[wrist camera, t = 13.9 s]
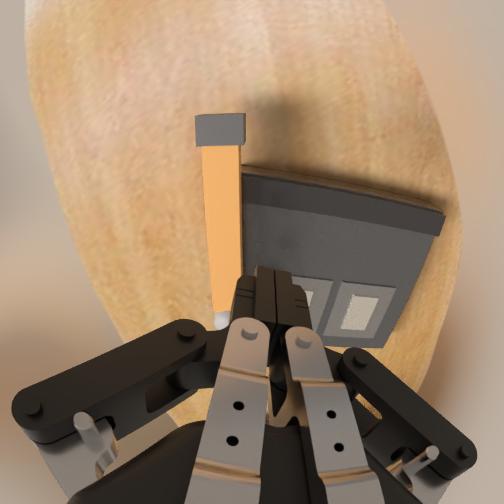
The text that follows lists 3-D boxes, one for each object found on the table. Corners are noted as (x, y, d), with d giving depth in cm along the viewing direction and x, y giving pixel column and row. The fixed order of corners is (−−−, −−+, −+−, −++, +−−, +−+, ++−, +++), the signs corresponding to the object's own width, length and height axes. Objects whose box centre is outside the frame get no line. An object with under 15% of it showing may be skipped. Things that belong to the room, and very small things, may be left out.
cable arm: (245, 113, 23) (243, 114, 20) (247, 315, 32) (246, 334, 30) (202, 114, 23) (194, 116, 20) (215, 314, 33) (211, 332, 30)
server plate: (377, 333, 39) (384, 352, 36) (220, 319, 38) (217, 340, 35) (430, 202, 29) (446, 215, 26) (236, 164, 29) (233, 173, 25)
